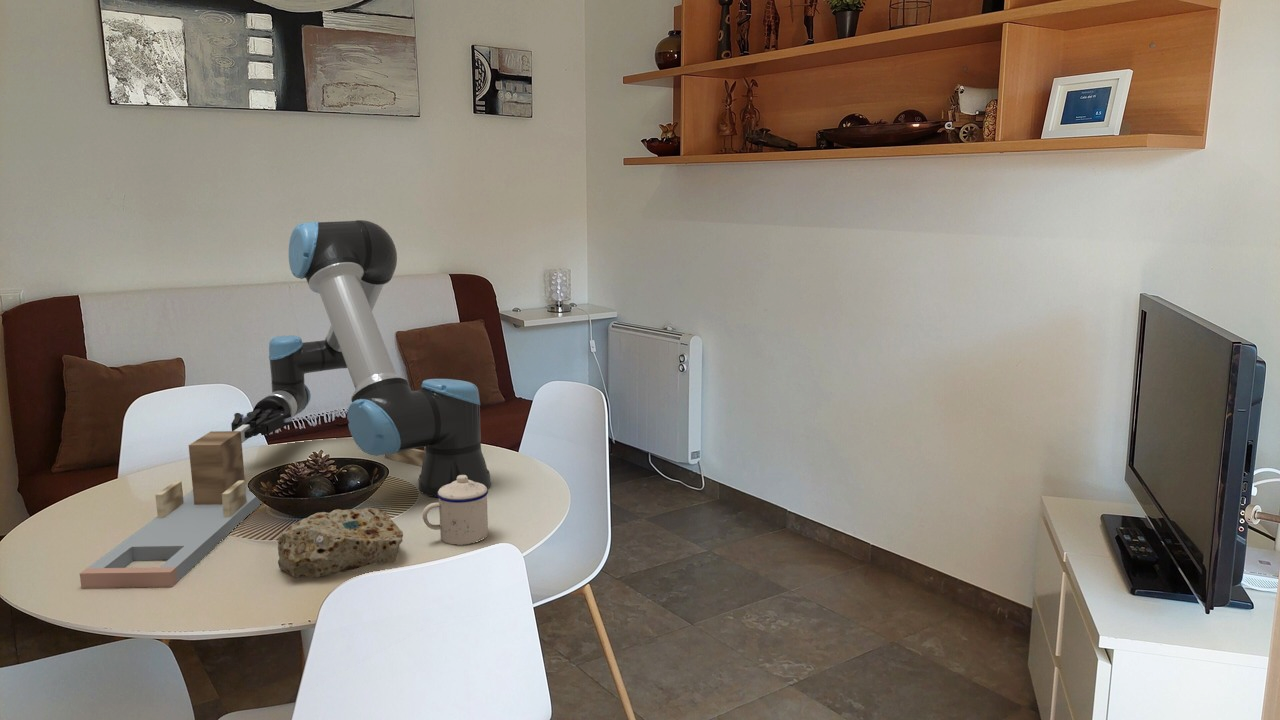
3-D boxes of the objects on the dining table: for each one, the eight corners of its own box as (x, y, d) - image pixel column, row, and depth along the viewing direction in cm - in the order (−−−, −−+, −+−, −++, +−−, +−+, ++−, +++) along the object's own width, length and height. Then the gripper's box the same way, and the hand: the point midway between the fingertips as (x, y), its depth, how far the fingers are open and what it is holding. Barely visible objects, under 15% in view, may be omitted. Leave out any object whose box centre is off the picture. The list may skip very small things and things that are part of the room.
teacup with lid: (481, 524, 176) (479, 465, 174) (495, 540, 168) (493, 479, 166) (418, 535, 170) (415, 474, 168) (430, 552, 162) (427, 489, 160)
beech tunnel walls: (177, 503, 180) (175, 481, 180) (246, 502, 181) (244, 480, 180) (157, 517, 173) (155, 494, 172) (230, 516, 173) (228, 494, 172)
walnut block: (215, 487, 189) (210, 431, 187) (245, 487, 190) (240, 431, 187) (194, 504, 180) (188, 445, 177) (225, 504, 180) (220, 444, 177)
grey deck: (198, 498, 191) (197, 486, 190) (268, 497, 191) (267, 485, 191) (81, 588, 149) (79, 573, 148) (172, 586, 149) (170, 572, 148)
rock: (385, 540, 171) (392, 492, 168) (409, 585, 160) (417, 535, 156) (267, 552, 160) (272, 501, 156) (284, 601, 148) (290, 548, 145)
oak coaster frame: (473, 451, 224) (472, 437, 223) (425, 467, 211) (425, 452, 210) (433, 442, 231) (432, 429, 230) (384, 458, 218) (384, 443, 218)
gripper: (304, 426, 216) (267, 456, 193) (248, 426, 216) (204, 456, 193) (302, 394, 215) (265, 421, 192) (245, 394, 215) (201, 421, 191)
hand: (234, 439), depth 192 cm, fingers closed
